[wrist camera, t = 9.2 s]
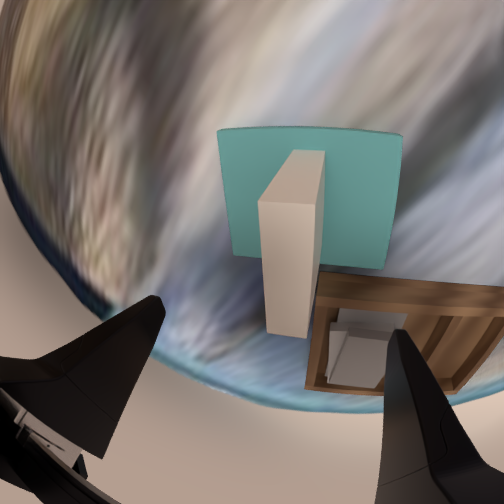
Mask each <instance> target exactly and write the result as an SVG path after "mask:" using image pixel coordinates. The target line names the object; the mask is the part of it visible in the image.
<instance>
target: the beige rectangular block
mask: <svg viewBox="0 0 504 504" xmlns="http://www.w3.org/2000/svg"><path fill="white" fill-rule="evenodd" d="M324 192H325V151H318V150H293V151H292V152H291V154H290V155H289V157H288V158H287V160H286V161H285V162H284V164H283V165H282V167H281V168H280V170H279V171H278V172H277V174H276V175H275V177H274V178H273V180H272V181H271V183H270V184H269V185H268V187H267V188H266V190H265V191H264V193H263V194H262V196H261V197H260V199H259V200H258V213H259V226H260V239H261V253H262V267H263V281H264V295H265V310H266V325H267V333H271V334H278V335H284V336H291V337H299V338H307V333H308V328H309V322H310V317H311V312H312V306H313V300H314V294H315V288H316V282H317V276H318V269H319V262H320V255H321V248H322V235H323V217H324Z"/></svg>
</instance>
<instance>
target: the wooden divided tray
mask: <svg viewBox="0 0 504 504" xmlns="http://www.w3.org/2000/svg"><path fill="white" fill-rule="evenodd" d="M339 308H344V309H355V310H366V311H378V312H391V313H406V314H408V315H407V317H406V320H405V322H404V324H403V327H402V329H405V330H406V331H407V332H408V334H409V335H410V337H411V338H412V340H413V341H414V343H415V345H416V346H417V348H418V349H419V351H420V353H421V354H422V356H423V358H424V359H425V361H426V362H427V364H428V366H429V368H430V369H431V371H432V373H433V374H434V376H435V378H436V380H437V381H438V383H439V385H440V387H441V389H442V390H443V392H444V394H445V395H451V394H456V393H457V392H458V391H459V390H460V389H461V388H462V387H463V386H464V385H465V384H466V383H467V382H468V380H469V379H470V378H471V377H472V376H473V375H474V373H475V372H476V371H477V370H478V369H479V368H480V366H481V365H482V364H483V363H484V361H485V360H486V359H487V358H488V356H489V355H490V354H491V352H492V351H493V350H494V348H495V347H496V346H497V344H498V343H499V341H500V340H501V339H502V337H503V336H504V287H497V286H483V285H470V284H457V283H444V282H432V281H420V280H408V279H396V278H385V277H374V276H363V275H352V274H342V273H331V272H321V271H320V274H319V281H318V288H317V294H316V303H315V313H314V322H313V331H312V339H311V347H310V354H309V362H308V369H307V375H306V382H305V388H304V389H306V390H314V391H322V392H331V393H342V394H354V395H371V396H384V380H385V375H384V376H383V377H382V379H381V380H380V382H379V383H378V384H377V386H376V387H375V388H364V387H355V386H346V385H338V384H330V383H327V379H328V376H325V371H326V366H327V362H328V358H329V336H330V324H331V322H336V321H337V315H338V310H339Z"/></svg>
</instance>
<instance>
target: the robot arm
mask: <svg viewBox="0 0 504 504" xmlns="http://www.w3.org/2000/svg"><path fill="white" fill-rule="evenodd" d="M165 314H166V311H165V308H164V305H163V303H162V300H161V298H160V297H159V296H155V295H150V296H148V297H146V298H144V299H143V300H141V301H139V302H137V303H136V304H134V305H132V306H131V307H129V308H127V309H126V310H124V311H122V312H120V313H119V314H117V315H115V316H114V317H112V318H110V319H109V320H107V321H105V322H104V323H102V324H101V325H99V326H97V327H95V328H93V329H92V330H90V331H88V332H87V333H85V334H84V335H82V336H80V337H78V338H77V339H75V340H73V341H71V342H70V343H68V344H66V345H64V346H62V347H60V348H58V349H56V350H54V351H52V352H50V353H48V354H46V355H44V356H42V357H40V358H37V359H30V360H29V359H19V358H10V357H2V356H0V478H1V479H2V480H4V481H6V482H8V483H11V484H13V485H15V486H17V487H19V488H22V489H24V490H26V491H29V492H32V493H34V494H35V495H36V497H37V498H38V499H39V500H40V501H41V502H42V503H44V504H121V503H119V502H117V501H116V500H114V499H113V498H111V497H110V496H108V495H107V494H105V493H103V492H102V491H101V490H99V489H98V488H96V487H95V486H93V485H92V484H91V483H89V482H88V481H86V479H87V477H88V475H87V471H86V467H85V463H84V459H83V455H82V454H81V451H82V449H83V450H85V451H87V452H89V453H91V454H92V455H94V456H96V457H98V458H100V459H103V457H104V455H105V452H106V450H107V448H108V445H109V443H110V440H111V438H112V436H113V433H114V431H115V429H116V426H117V424H118V421H119V419H120V417H121V415H122V412H123V410H124V408H125V406H126V404H127V401H128V399H129V397H130V395H131V393H132V390H133V388H134V386H135V384H136V382H137V380H138V378H139V376H140V374H141V371H142V369H143V367H144V365H145V363H146V361H147V359H148V357H149V355H150V353H151V351H152V349H153V347H154V344H155V342H156V339H157V336H158V334H159V331H160V328H161V326H162V323H163V320H164V318H165ZM375 504H504V473H503V472H501V471H499V470H497V469H495V468H493V467H491V466H489V465H488V464H487V463H486V462H485V461H484V460H483V459H482V458H481V456H480V455H479V453H478V452H477V450H476V448H475V446H474V445H473V443H472V442H471V440H470V438H469V437H468V435H467V434H466V432H465V430H464V429H463V427H462V425H461V424H460V422H459V420H458V418H457V416H456V415H455V413H454V411H453V409H452V407H451V405H450V404H449V401H448V400H447V398H446V396H445V394H444V392H443V390H442V389H441V387H440V385H439V383H438V381H437V380H436V378H435V376H434V374H433V373H432V371H431V369H430V368H429V366H428V364H427V362H426V361H425V359H424V358H423V356H422V354H421V353H420V351H419V349H418V348H417V346H416V345H415V343H414V341H413V340H412V338H411V337H410V335H409V334H408V332H407V331H406V330H405V329H395V330H394V331H393V333H392V335H391V338H390V340H389V342H388V346H387V357H386V370H385V380H384V419H383V438H382V451H381V462H380V471H379V479H378V487H377V492H376V499H375Z"/></svg>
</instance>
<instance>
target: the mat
mask: <svg viewBox="0 0 504 504" xmlns="http://www.w3.org/2000/svg"><path fill="white" fill-rule="evenodd" d="M217 139H218V147H219V155H220V162H221V170H222V178H223V185H224V193H225V200H226V207H227V215H228V222H229V229H230V236H231V243H232V250H233V255H236V256H246V257H256V258H262V253H261V239H260V226H259V213H258V200H259V199H260V197H261V196H262V194H263V193H264V191H265V190H266V188H267V187H268V185H269V184H270V183H271V181H272V180H273V178H274V177H275V175H276V174H277V172H278V171H279V170H280V168H281V167H282V165H283V164H284V162H285V161H286V160H287V158H288V157H289V155H290V154H291V152H292V151H293V150H318V151H325V192H324V217H323V235H322V248H321V255H320V262H319V264H328V265H338V266H349V267H360V268H370V269H381V270H383V268H384V264H385V260H386V255H387V250H388V246H389V241H390V236H391V230H392V225H393V219H394V213H395V207H396V200H397V193H398V185H399V176H400V166H401V155H402V141H403V136H401V135H400V134H395V133H388V132H380V131H371V130H361V129H349V128H334V127H309V126H268V127H243V128H228V129H221V130H218V131H217Z"/></svg>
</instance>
